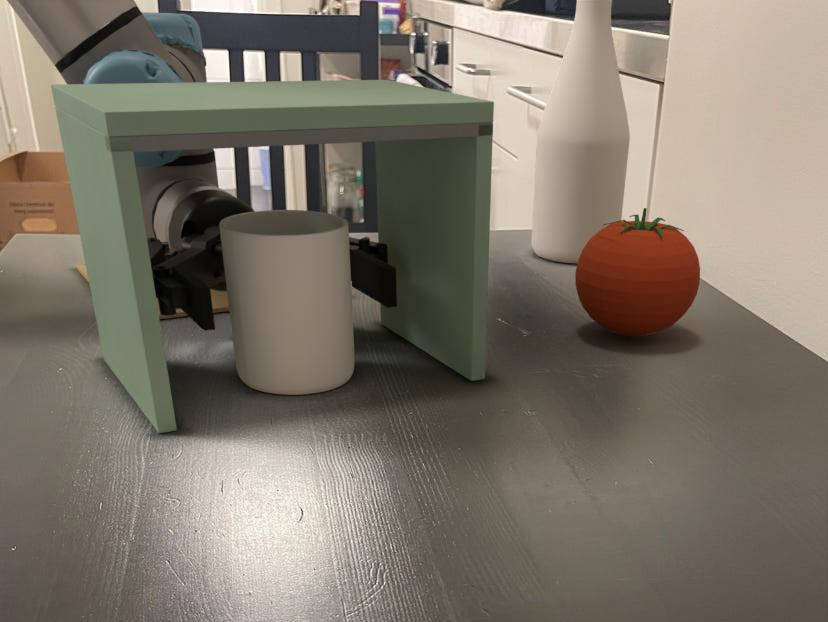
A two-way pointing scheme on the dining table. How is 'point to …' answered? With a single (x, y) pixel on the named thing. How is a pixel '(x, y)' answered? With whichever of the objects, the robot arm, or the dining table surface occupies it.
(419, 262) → the shelf compartment
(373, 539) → the dining table surface
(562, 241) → the wine bottle
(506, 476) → the dining table surface
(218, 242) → the robot arm
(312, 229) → the mug
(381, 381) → the dining table surface
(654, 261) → the tomato
